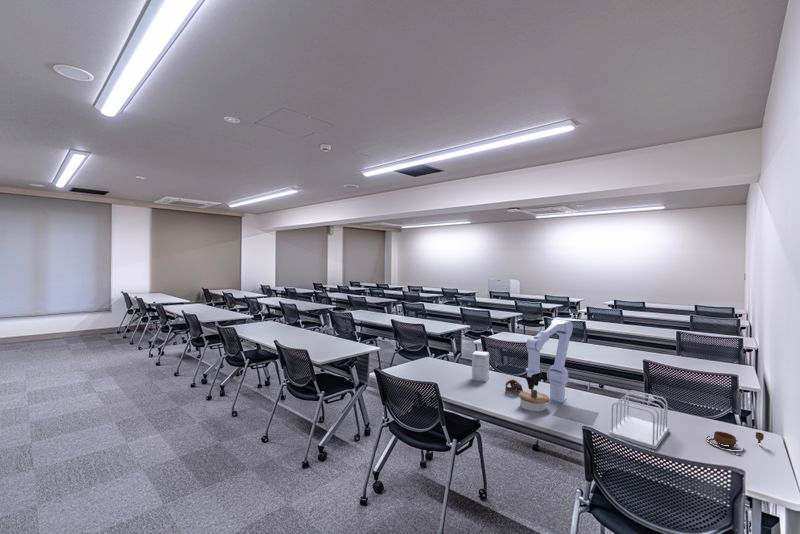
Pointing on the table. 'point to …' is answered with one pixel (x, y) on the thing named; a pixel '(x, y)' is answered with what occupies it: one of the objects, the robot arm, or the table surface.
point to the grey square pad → (576, 414)
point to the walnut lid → (534, 397)
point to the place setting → (731, 438)
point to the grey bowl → (532, 406)
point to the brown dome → (513, 386)
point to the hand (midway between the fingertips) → (533, 387)
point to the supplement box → (480, 366)
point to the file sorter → (640, 423)
